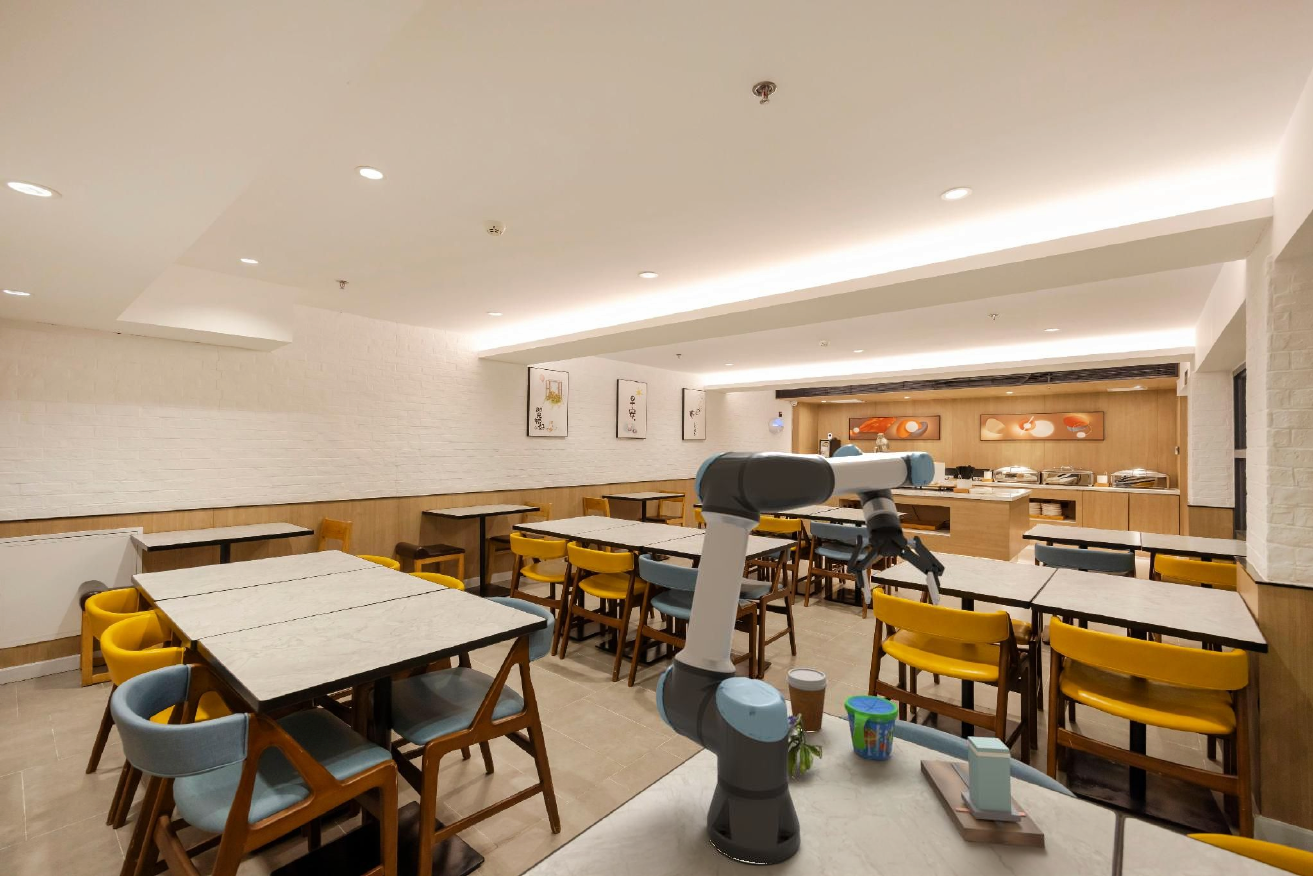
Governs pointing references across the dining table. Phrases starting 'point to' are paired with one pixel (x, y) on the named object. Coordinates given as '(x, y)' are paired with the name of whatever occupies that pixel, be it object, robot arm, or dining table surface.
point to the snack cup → (871, 725)
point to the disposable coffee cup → (807, 696)
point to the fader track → (948, 788)
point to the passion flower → (800, 747)
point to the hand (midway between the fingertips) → (902, 601)
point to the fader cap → (989, 780)
